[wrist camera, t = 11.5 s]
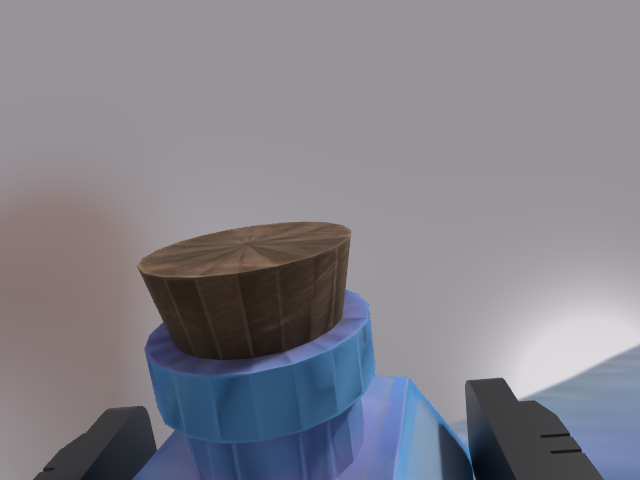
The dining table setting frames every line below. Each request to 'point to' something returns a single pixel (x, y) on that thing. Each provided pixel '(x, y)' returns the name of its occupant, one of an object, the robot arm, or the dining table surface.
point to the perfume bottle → (280, 367)
